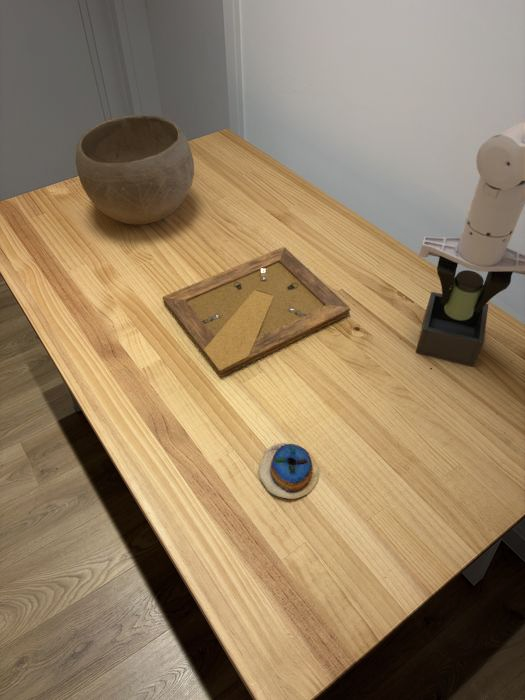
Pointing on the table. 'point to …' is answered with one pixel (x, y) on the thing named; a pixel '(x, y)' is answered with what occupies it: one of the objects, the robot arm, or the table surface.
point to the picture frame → (254, 309)
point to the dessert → (288, 471)
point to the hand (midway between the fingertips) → (461, 303)
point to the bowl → (135, 167)
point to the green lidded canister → (464, 295)
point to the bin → (451, 334)
